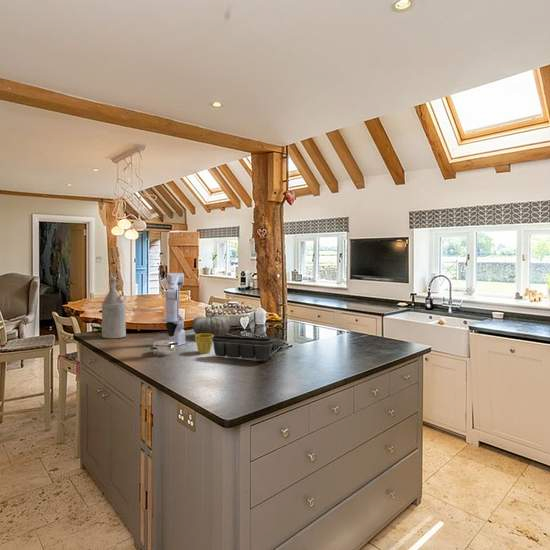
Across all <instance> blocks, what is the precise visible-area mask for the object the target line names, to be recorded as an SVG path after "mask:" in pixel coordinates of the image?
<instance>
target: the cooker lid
mask: <svg viewBox="0 0 550 550" xmlns="http://www.w3.org/2000/svg"><path fill="white" fill-rule="evenodd" d="M153 345H155V346H166V345H176V343H175V341H174V340H169V339H165V340H164V339H162V340H156V341H152V346H153Z"/></svg>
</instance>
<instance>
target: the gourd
mask: <svg viewBox="0 0 550 550" xmlns="http://www.w3.org/2000/svg"><path fill="white" fill-rule="evenodd" d="M215 314H216V312H215V311H214V312H213V313H212V315H211V316H203V315H199V316H196V317H195V318H194V319H193V321H192V325H191V326H192V327H191V328H192V329H193V332H194V333H195V335H197V334H213V335H214V336H226V335H228V333H229V331H230V329H231V321H230V319H229V318H228V316H225V315H220V316H215Z"/></svg>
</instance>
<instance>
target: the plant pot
mask: <svg viewBox="0 0 550 550" xmlns="http://www.w3.org/2000/svg"><path fill="white" fill-rule="evenodd" d="M213 336H214V335H213V334H197V335H196V334H195V335H194V342H195V343H196V347H197V348H196V349H197V353H199V354H202V355H203V354H206V355H207V354H209V353H211V350H212V346H213V341H212V340H213V339H212V338H211V337H213Z"/></svg>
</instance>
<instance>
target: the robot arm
mask: <svg viewBox="0 0 550 550" xmlns="http://www.w3.org/2000/svg"><path fill="white" fill-rule="evenodd" d="M184 274H185V273H183V272H167V273H166V283H167V290H165V292H164V293H165V294H164V298H165V305H166V308H165V317H162V318H161V323H164V326H165V327H166V330H167V334H168V340H174V341H175V342H176V343H178V345H176V346H177V347H178V346H180V345H186V344H187V342H186V331H185V329H184V327H185V326H184V324H185V322H184V321H185V320H184V316H183V315H181V314H180V289H181V287H183V286H184V284H185V275H184ZM176 346H175V347H176Z"/></svg>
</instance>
